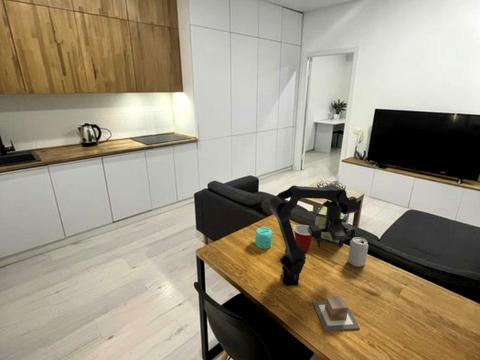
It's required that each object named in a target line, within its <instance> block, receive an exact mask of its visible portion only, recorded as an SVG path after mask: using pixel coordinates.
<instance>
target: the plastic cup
mask: <svg viewBox="0 0 480 360" xmlns="http://www.w3.org/2000/svg"><path fill="white" fill-rule="evenodd" d="M309 226H310V225H306V224H297V225H294V226H293V227H292V230H293V233H294V237H295V240H296V244H298V245H299V246H300V247H301V248H302V250H303V251H304V253H305V254H306V253H307V254H308V252H309V250H310V247H311V243H312V240H313V237H311V235H310V234H309V232H308V227H309Z"/></svg>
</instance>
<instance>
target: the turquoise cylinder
mask: <svg viewBox="0 0 480 360" xmlns="http://www.w3.org/2000/svg"><path fill="white" fill-rule="evenodd" d="M254 238H255V239H254V242H255V243H254V244H255V245H256V246H257V248H259V249H269V248H271V247H272V244H273V231H272V229H270V228H269V227H264V226H263V227H259V228H257V229H256V231H255V237H254Z"/></svg>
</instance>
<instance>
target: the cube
mask: <svg viewBox="0 0 480 360" xmlns="http://www.w3.org/2000/svg"><path fill="white" fill-rule="evenodd" d="M325 302H326V304H325V310H326V312H327V314H328V316H329V318H330V321H341V320H346V318H347V312H348V308H349V307H347V306H348V304H347V303H346V301H345V300H344V298H343V296H342V295H331V296H326V298H325ZM346 304H347V305H346Z"/></svg>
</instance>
